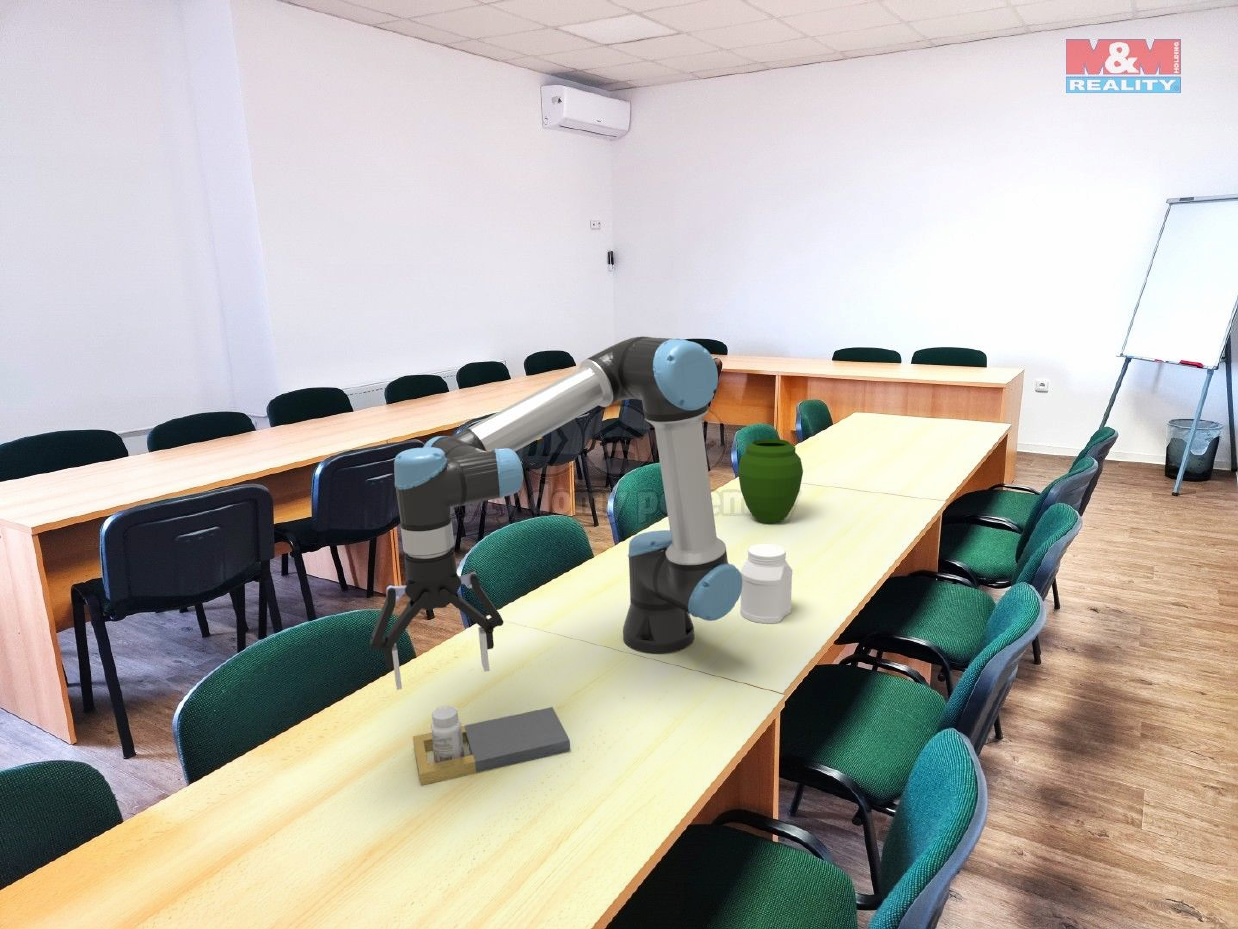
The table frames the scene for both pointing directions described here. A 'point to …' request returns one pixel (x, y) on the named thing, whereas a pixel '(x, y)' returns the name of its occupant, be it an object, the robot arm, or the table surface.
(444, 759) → the pill bottle
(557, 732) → the flat tray
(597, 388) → the robot arm
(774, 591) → the jar
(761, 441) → the vase
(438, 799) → the table surface
